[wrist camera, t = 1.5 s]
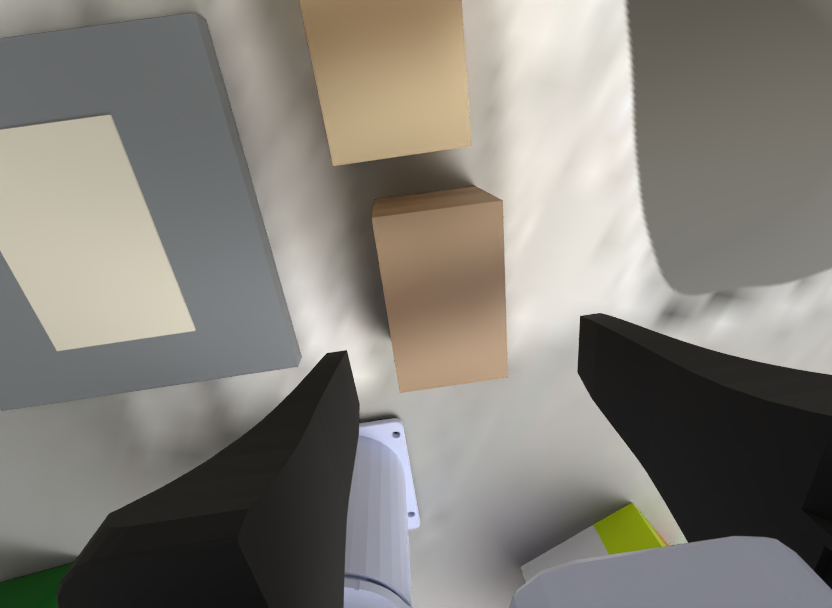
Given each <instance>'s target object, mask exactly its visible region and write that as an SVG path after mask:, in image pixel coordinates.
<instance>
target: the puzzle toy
mask: <svg viewBox="0 0 832 608" xmlns="http://www.w3.org/2000/svg"><path fill="white" fill-rule="evenodd" d="M665 546H669V545H668V544H667V543H666V542H665V541H664V539H663V538H662V537H661V536H660V535H659V534H658V532H657V531H656V530H655V529H654V528H653V527H652V525H651V524H650V523H649V522H648V521H647V519H646V518H645V517H644V516H643V515H642V514H641V512H640V511H639V510H638V509H637V508H636V507H635V505H634V504H633V503H630V504H628V505H626V506H625V507H623V508H621V509H620V510H618V511H616V512H614V513H613V514H611V515H609V516H607V517H606V518H604V519H602V520H600V521H599V522H597V523H595V524H594V525H592V526H590V527H588V528H587V529H585V530H583V531H581V532H580V533H578V534H576V535H575V536H573V537H571V538H569V539H568V540H566V541H564V542H562V543H561V544H559V545H557V546H555V547H554V548H552V549H550V550H549V551H547V552H545V553H543V554H542V555H540V556H538V557H536V558H535V559H533V560H531V561H530V562H528V563H526V564H524V565H523V566H521V570H522V573H523V576H524V580H525V583H526V582H527V581H529V580H530V579H531V578H533V577H534V576H535V575H536V574H538V573H539V572H540V571H542V570H545V569H548V568H551V567H555V566H558V565H561V564H564V563H567V562H570V561H573V560H579V559H586V558H592V557H599V556H605V555H612V554H619V553H625V552H632V551H638V550H645V549H652V548H658V547H665Z"/></svg>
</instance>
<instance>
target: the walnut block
mask: <svg viewBox="0 0 832 608" xmlns="http://www.w3.org/2000/svg"><path fill="white" fill-rule="evenodd" d="M372 224H373V230H374V236H375V243H376V249H377V255H378V261H379V267H380V273H381V280H382V286H383V292H384V298H385V304H386V310H387V317H388V323H389V329H390V335H391V341H392V347H393V354H394V360H395V366H396V372H397V378H398V384H399V391H400V393H403V392H410V391H417V390H424V389H431V388H438V387H445V386H452V385H459V384H466V383H473V382H480V381H487V380H494V379H501V378H508V366H507V332H506V298H505V264H504V230H503V200H501V199H499V198H497V197H495V196H493V195H491V194H489V193H487V192H486V191H484V190H482V189H480V188H478V187H476V186H472V187H465V188H457V189H449V190H442V191H434V192H427V193H419V194H411V195H404V196H396V197H389V198H381V199H374V205H373V212H372Z"/></svg>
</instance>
